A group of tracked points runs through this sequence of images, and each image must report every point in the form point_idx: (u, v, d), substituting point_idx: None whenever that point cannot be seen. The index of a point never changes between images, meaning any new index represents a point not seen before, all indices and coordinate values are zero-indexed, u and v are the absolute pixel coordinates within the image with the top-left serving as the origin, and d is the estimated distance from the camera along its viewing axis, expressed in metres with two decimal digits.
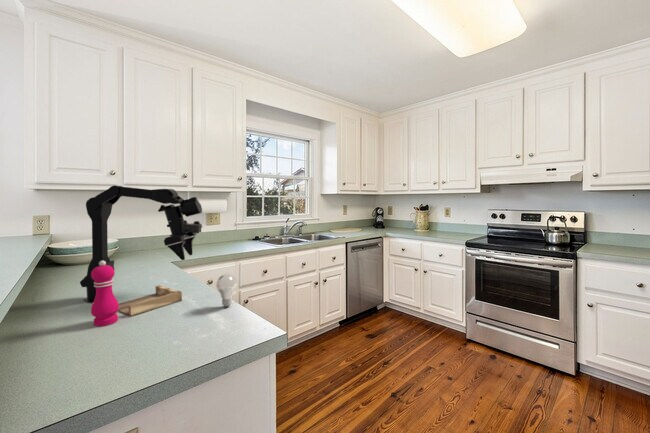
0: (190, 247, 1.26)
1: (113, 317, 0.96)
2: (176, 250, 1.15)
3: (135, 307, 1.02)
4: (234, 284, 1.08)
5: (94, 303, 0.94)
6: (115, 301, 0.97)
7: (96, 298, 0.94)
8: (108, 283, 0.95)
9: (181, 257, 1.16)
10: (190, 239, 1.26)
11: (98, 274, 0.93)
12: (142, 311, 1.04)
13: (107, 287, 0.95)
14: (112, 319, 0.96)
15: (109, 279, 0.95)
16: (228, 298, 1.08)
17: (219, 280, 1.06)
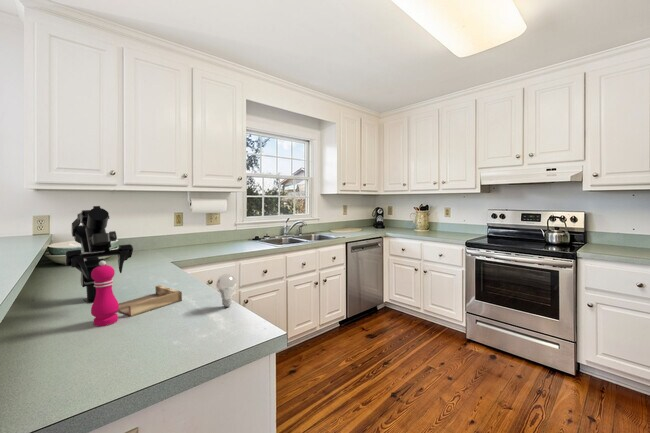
0: (119, 263, 1.07)
1: (113, 317, 0.96)
2: (80, 268, 1.01)
3: (135, 307, 1.02)
4: (234, 284, 1.08)
5: (94, 303, 0.94)
6: (115, 301, 0.97)
7: (96, 298, 0.94)
8: (108, 283, 0.95)
9: (85, 275, 0.99)
10: (119, 254, 1.08)
11: (98, 274, 0.93)
12: (142, 311, 1.04)
13: (107, 287, 0.95)
14: (112, 319, 0.96)
15: (109, 279, 0.95)
16: (228, 298, 1.08)
17: (219, 280, 1.06)
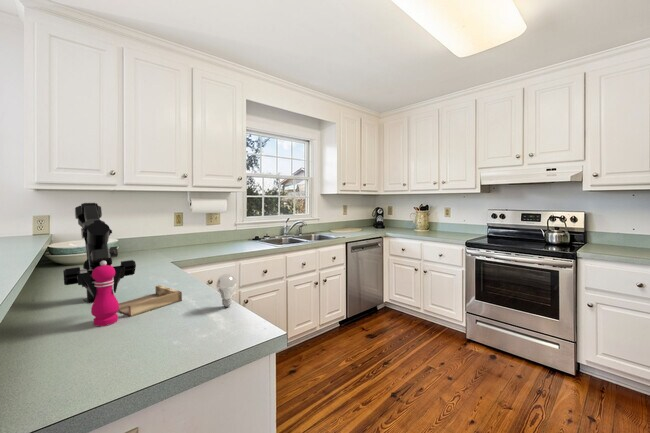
0: None
1: (113, 317, 0.96)
2: (87, 286, 0.95)
3: (135, 307, 1.02)
4: (234, 284, 1.08)
5: (94, 303, 0.94)
6: (115, 301, 0.97)
7: (96, 298, 0.94)
8: (109, 283, 0.95)
9: (91, 293, 0.94)
10: None
11: (99, 274, 0.93)
12: (142, 311, 1.04)
13: (108, 287, 0.95)
14: (112, 319, 0.96)
15: (110, 279, 0.95)
16: (228, 298, 1.08)
17: (219, 280, 1.06)
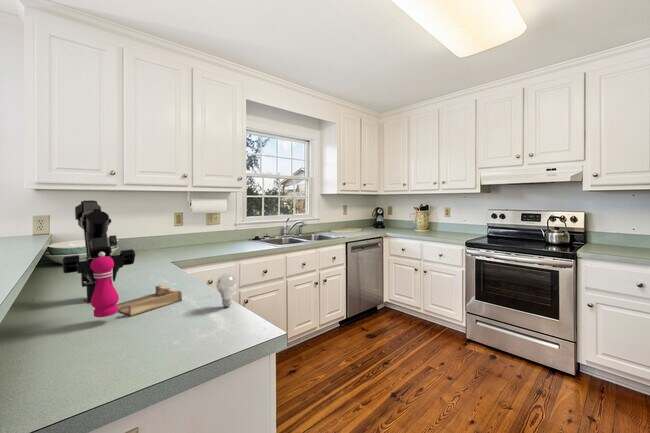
0: (113, 271, 0.98)
1: (113, 308, 0.96)
2: (86, 274, 0.95)
3: (135, 307, 1.02)
4: (234, 284, 1.08)
5: (94, 294, 0.94)
6: (115, 292, 0.97)
7: (96, 289, 0.94)
8: (108, 275, 0.95)
9: (91, 281, 0.94)
10: None
11: (97, 265, 0.93)
12: (142, 311, 1.04)
13: (106, 278, 0.95)
14: (112, 310, 0.96)
15: (108, 270, 0.95)
16: (228, 298, 1.08)
17: (219, 280, 1.06)
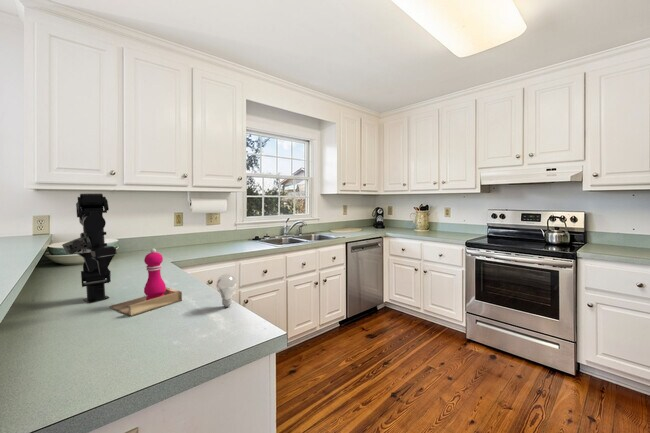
0: None
1: None
2: None
3: (135, 307, 1.02)
4: (234, 284, 1.08)
5: (151, 284, 1.11)
6: (163, 281, 1.16)
7: (152, 280, 1.12)
8: (161, 267, 1.14)
9: None
10: None
11: (156, 258, 1.11)
12: (142, 311, 1.04)
13: None
14: None
15: (160, 263, 1.14)
16: (228, 298, 1.08)
17: (219, 280, 1.06)
